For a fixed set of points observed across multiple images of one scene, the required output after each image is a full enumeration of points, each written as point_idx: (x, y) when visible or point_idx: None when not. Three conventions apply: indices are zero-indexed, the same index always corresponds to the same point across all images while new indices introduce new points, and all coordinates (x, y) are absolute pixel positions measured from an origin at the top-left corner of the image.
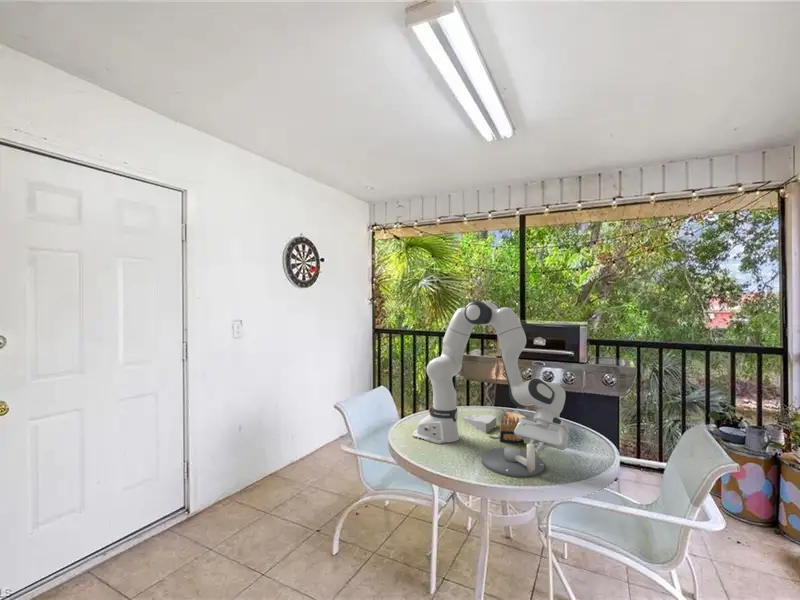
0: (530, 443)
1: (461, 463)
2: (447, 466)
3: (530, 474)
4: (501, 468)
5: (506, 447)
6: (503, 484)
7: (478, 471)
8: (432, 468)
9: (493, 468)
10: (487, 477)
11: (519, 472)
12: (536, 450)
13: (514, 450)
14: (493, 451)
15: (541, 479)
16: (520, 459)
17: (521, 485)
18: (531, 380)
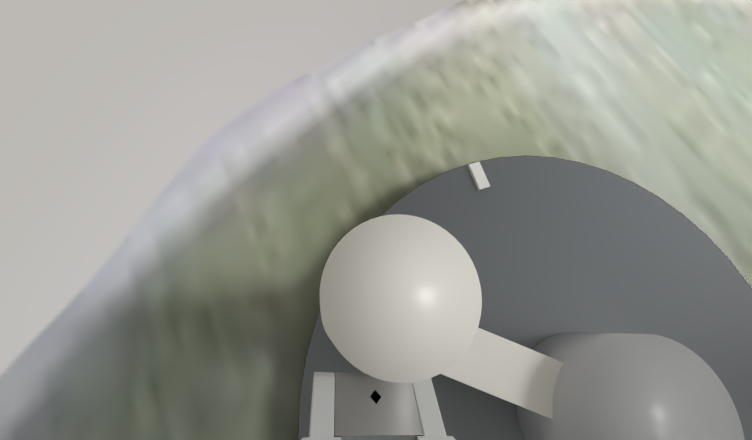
0: (445, 363)
1: (724, 145)
2: (726, 68)
3: None
4: (522, 183)
5: (726, 423)
6: (409, 64)
7: (598, 117)
8: (738, 10)
9: (559, 161)
10: (518, 84)
11: (400, 207)
12: (327, 392)
13: (621, 408)
14: None
15: (254, 287)
16: (482, 331)
17: (326, 114)
18: None
